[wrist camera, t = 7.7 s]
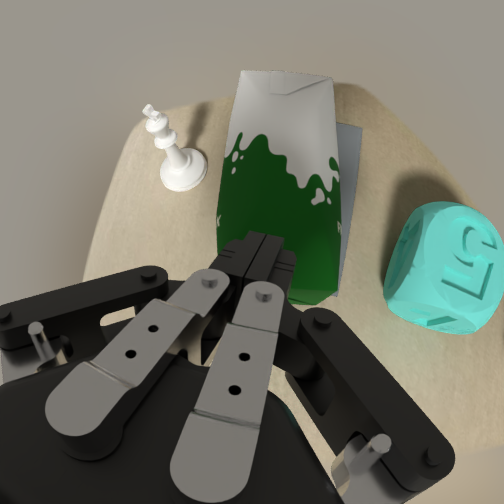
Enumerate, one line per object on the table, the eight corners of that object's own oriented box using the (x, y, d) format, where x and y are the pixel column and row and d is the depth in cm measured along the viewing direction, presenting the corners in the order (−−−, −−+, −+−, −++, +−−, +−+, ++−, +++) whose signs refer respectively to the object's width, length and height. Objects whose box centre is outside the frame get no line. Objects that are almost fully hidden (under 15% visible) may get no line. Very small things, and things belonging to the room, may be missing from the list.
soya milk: (356, 290, 17) (337, 59, 23) (198, 279, 18) (235, 50, 23) (324, 307, 26) (322, 118, 31) (216, 300, 26) (238, 112, 32)
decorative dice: (373, 308, 25) (407, 291, 17) (398, 226, 27) (431, 186, 19) (448, 337, 23) (498, 330, 16) (467, 257, 25) (513, 229, 18)
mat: (362, 129, 30) (362, 128, 30) (337, 296, 26) (337, 296, 25) (271, 112, 32) (271, 111, 32) (223, 270, 27) (222, 270, 27)
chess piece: (187, 199, 30) (148, 139, 20) (152, 179, 31) (108, 121, 22) (216, 161, 31) (190, 93, 21) (181, 144, 32) (148, 80, 22)
